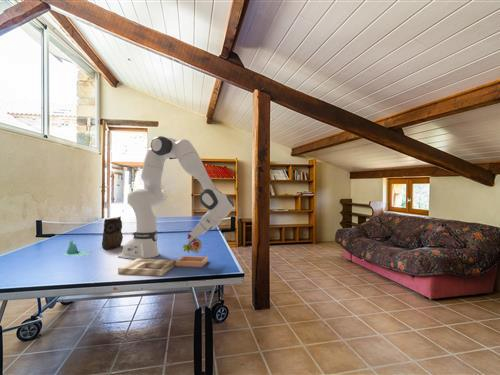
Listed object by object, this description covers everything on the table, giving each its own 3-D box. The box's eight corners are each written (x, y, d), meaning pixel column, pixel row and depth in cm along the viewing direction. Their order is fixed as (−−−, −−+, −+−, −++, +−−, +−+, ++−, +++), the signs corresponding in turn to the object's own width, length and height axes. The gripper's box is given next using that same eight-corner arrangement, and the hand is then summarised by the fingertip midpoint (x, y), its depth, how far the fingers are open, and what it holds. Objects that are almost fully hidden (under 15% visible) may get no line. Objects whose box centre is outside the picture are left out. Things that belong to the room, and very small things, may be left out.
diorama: (83, 258, 151) (83, 242, 151) (54, 255, 156) (55, 240, 156) (99, 252, 163) (100, 238, 163) (73, 250, 168) (73, 237, 168)
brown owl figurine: (122, 245, 183) (123, 216, 183) (122, 249, 172) (122, 218, 172) (101, 246, 178) (102, 216, 178) (99, 250, 166) (100, 218, 166)
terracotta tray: (175, 266, 136) (175, 261, 136) (183, 260, 147) (183, 256, 147) (202, 267, 134) (202, 262, 134) (207, 261, 145) (207, 257, 145)
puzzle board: (118, 273, 124) (118, 268, 124) (136, 263, 141) (137, 258, 141) (161, 275, 122) (161, 269, 122) (175, 265, 138) (175, 260, 138)
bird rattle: (197, 257, 142) (182, 249, 143) (207, 237, 144) (192, 230, 145) (195, 257, 136) (179, 249, 137) (205, 237, 138) (189, 229, 139)
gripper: (210, 214, 150) (193, 231, 151) (200, 219, 130) (180, 238, 131) (218, 222, 150) (201, 239, 151) (208, 228, 129) (189, 248, 130)
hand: (191, 239), depth 140 cm, fingers closed on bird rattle, 2 cm apart
